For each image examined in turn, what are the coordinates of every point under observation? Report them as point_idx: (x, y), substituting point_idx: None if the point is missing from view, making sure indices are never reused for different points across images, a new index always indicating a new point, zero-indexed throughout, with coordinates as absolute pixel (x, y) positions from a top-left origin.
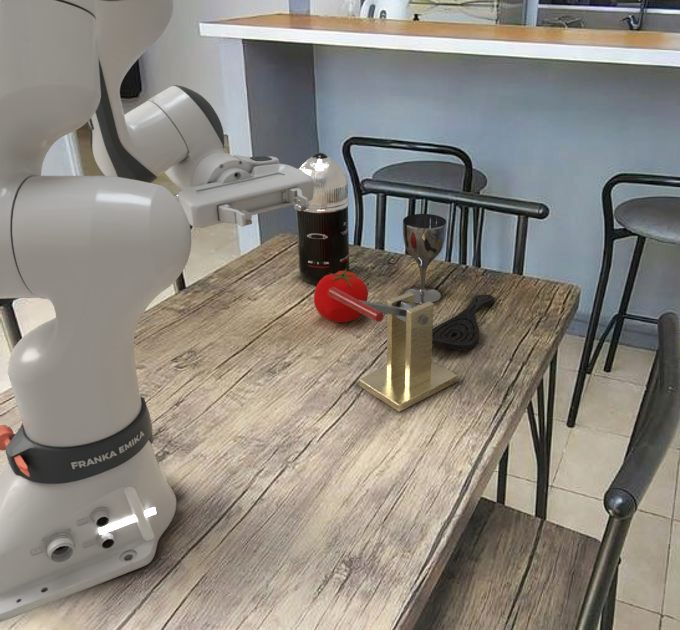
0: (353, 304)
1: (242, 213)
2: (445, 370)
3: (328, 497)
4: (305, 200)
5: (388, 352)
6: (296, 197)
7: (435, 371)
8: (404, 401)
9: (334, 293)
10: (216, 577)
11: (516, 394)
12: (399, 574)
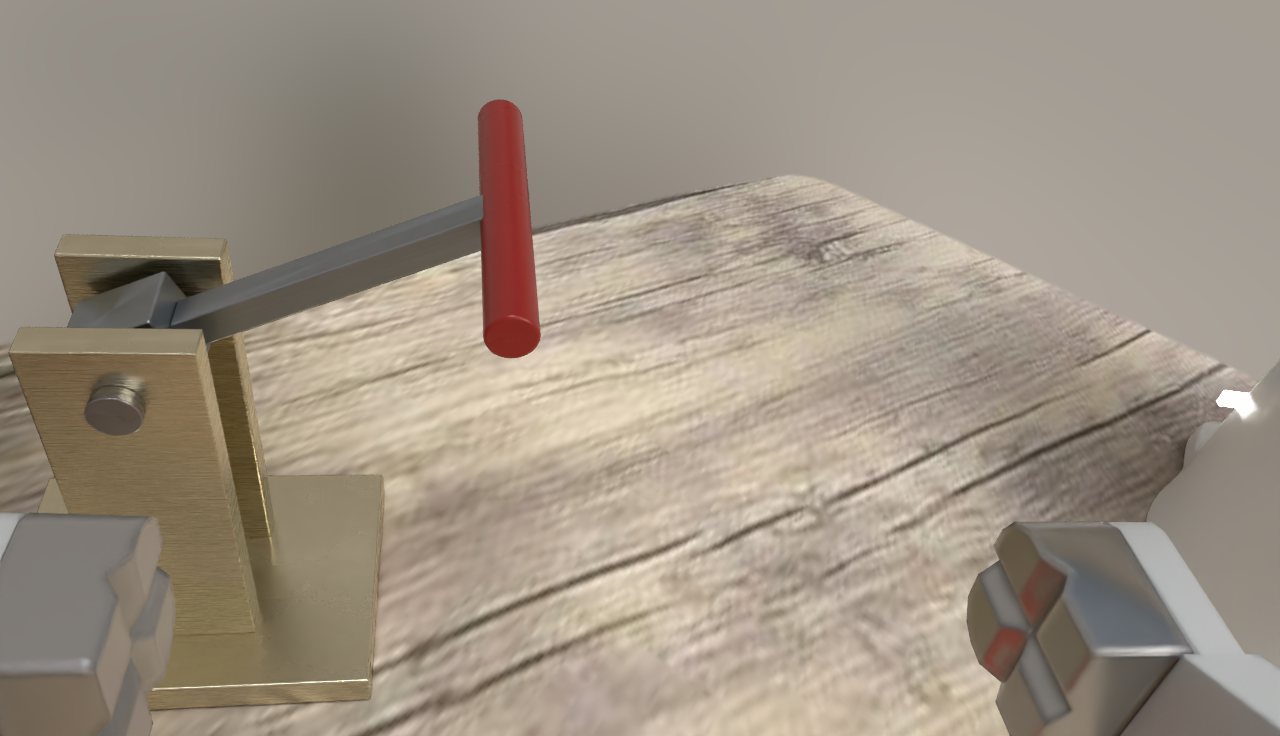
0: (528, 195)
1: (1138, 543)
2: None
3: (775, 372)
4: (27, 519)
5: (240, 548)
6: (62, 634)
7: None
8: (350, 478)
9: (534, 289)
10: (1059, 350)
11: (4, 353)
12: (746, 204)
